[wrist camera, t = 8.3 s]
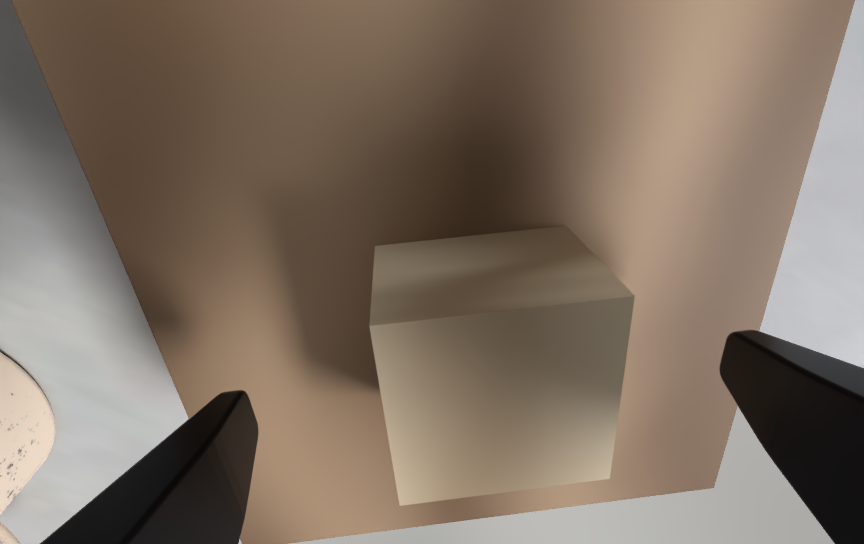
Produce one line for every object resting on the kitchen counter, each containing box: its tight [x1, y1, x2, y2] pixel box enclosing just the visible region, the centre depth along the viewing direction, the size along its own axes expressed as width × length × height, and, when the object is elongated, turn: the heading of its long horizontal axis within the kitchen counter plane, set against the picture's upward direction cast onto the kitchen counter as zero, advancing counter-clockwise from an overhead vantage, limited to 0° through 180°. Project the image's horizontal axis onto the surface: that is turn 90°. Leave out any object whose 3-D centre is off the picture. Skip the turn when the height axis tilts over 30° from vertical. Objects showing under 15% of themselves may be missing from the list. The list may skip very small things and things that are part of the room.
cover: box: [11, 0, 855, 544], centre depth 9 cm, size 14×14×4 cm
